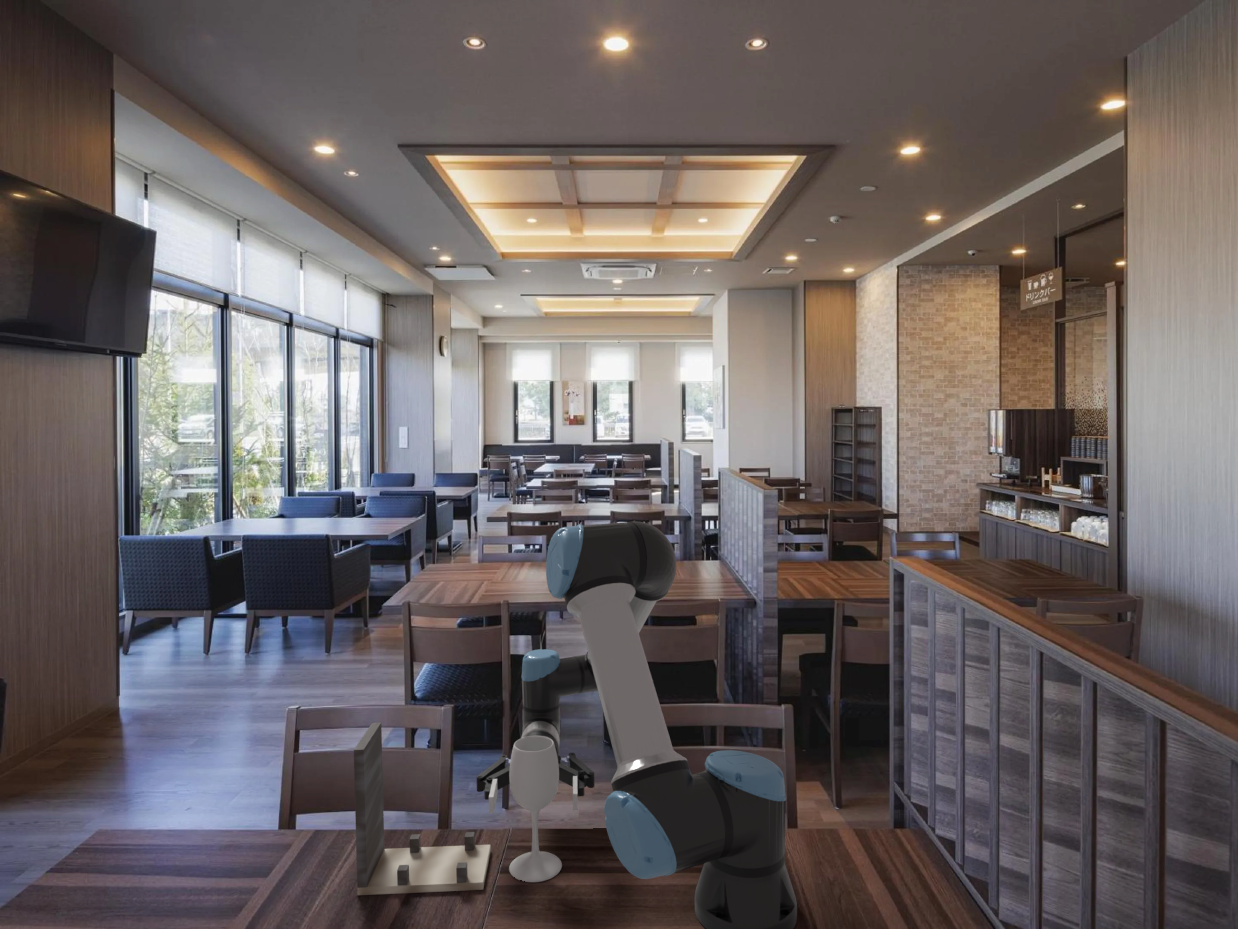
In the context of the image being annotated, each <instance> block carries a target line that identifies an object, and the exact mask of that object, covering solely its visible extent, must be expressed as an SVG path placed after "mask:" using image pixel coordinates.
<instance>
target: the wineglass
mask: <svg viewBox="0 0 1238 929" xmlns="http://www.w3.org/2000/svg"><path fill="white" fill-rule="evenodd" d="M512 746H513V747H512V751H511V757H510V759H511V761H510V771H509V779H510V784H509V788H510V792H511V796H512V798H513V799H514V801H515V802H516V803H517V805H519V806H520V807H521V808H523V809H525V810H527V811H529V813H530V816H531V817H530V818H531V826H532V827H531V830H532V832H531V833H532V834H531V835H532V838H531V851H529V852H525V853H523V854H521V855H519V856H517V857H515V859H512V861H511V863H509V864H510V865H509V867H508V871H509V873H510V875H511V876H512V877H513V878H514V877H515V878H514V879H516V880H518V881H520V880H522V881H521V882H524V881H525V883H540V882H545V881H547V880H550V879H553V878H554V877H556V876H557V875H558V874H559V873H560V871H561V870H562V867H563V864H562V861H561V859H560V858H559V857H558V856H557V855H555V854H554V853H550V852H548V851H540V847H539V846H540V843H539V816H540V811H541V810H543V809H544V808H546V807H547V806H549V804H551V802H552V801H554V799H555V797H556V796H557V793H558V789H559V786H560V785H559V784H560V780H559V765H558V758H557V753H556V749H555V745H554V742H553V740H552V739H550V738H548V737H545V736H528V737H524V738H521V737H520V738H519V739H517V740H516V741H515V742H514V743H513V745H512Z"/></svg>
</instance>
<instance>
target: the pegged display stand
mask: <svg viewBox="0 0 1238 929" xmlns="http://www.w3.org/2000/svg"><path fill="white" fill-rule="evenodd" d="M382 732H383V731H382V722H381V721H380V722H372V723H371V724H370V726H369V727H368V728H367V730H366V731H365V733H364V734H363V736H362V738H360V739H359V741H358V743H357V744H356V745H355V747H354V749H353V769H354V771H353V772H354V774H353V776H354V806H355V807H354V808H355V809H354V811H355V812H354V814H355V815H354V816H355V843H356V844H355V846H356V847H355V848H356V849H355V850H356V851H355V852H356V854H355V855H356V885H357V886H356V887H357V888H356V890H357V896H368V895H369V896H372V895H391V894H394V895H395V894H415V893H416V894H417V893H437V892H438V893H439V892H442V893H443V892H455V891H456V892H460V891H461V892H462V891H482V890H484V886H485V882H486V876H487V871H488V866H489V861H490V857H491V851H492V850H491V844H476V841H475V840H476V838H475V837H476V836H475V835H476V834H475V831H466V832H465V834H464V845H445V846H444V845H443V846H422V847H421V833H419V834H418V833H417V834H414V833H413V834H411V835H410V837H409V847H399V848H398V847H397V848H395V847H394V848H385V828H384V827H385V822H384V817H385V816H384V814H385V813H384V792H383V791H384V787H383V786H384V783H383V782H384V781H383V780H384V778H383V774H384V773H383V745H382V744H383V741H382V739H383V737H382Z"/></svg>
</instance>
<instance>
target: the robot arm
mask: <svg viewBox="0 0 1238 929" xmlns="http://www.w3.org/2000/svg"><path fill="white" fill-rule="evenodd" d="M676 572H677V559H676V552H675V550H674V548H673V544H672V543H671V541H670V540H669V538H668V537H667V536H666V535H665V534H664V533H663V531H661V530H660V529H659V528H657V527H656V526H654V525H651V524H650V523H648V522H643V521H634V520H633V521H626V522H625V521H624V522H614V523H613V522H611V523H598V524H596V523H595V524H582V523H581V524H580V523H578V524H577V525H573V526H572V525H570V526H563V527H560V528H559V529H557V530H556V531H555V532H554V533H553V534H552V536H551V538H550V541H549V543H548V549H547V552H546V563H545V574H546V575H545V577H546V584H547V589H548V591H549V593H550V594H551V597H553V598H556V599H558V600H562V599H564V601H565V607H566V610H567V612H568V613H569V614H570V615H572V616H574V617H576V618H578V619H579V624H580V627H581V631H582V635H583V638H584V642H585V646H586V650H587V652H586V654H581V655H576V656H569V657H561V658H560V654H559V653H558V652H557V651H556V650H553V649H548V648H546V649H542V648H540V649H534V650H533V649H532V650H530V651H528V652H526V653H525V654H524V656H523V657H522V664H521V665H522V666H521V684H522V685H521V688H522V689H521V690H522V691H521V692H522V732H521V737H520V739H521V738H524V737H528V736H545V737H548V738H550V739H552V740H553V742H554V745H555V749H556V753H557V758H558V765H559V782H562V783H564V784H567V785H568V786H569V787H570V786H571V787H572V811H578V810H579V808H578V804H579V803H578V799H579V798H578V797H584V796H585V788H586V787H587V788H588V789H593V788H595V772H594V771H593V770H592V769H591V768H589V767H588V766H587V765H586V764H585V763H583V761H581V760H580V759H578V757H577V756H576V753H575V752H569V753H568V755H567V756H566V757H561V756H560V733H561V725H562V722H561V721H562V720H561V710H560V708H561V707H560V706H561V697H568V696H572V695H579V694H584V693H590V692H596V691H597V692H598V697H599V700H600V704H601V708H602V712H603V716H604V719H605V723H606V727H607V731H608V735H609V739H610V743H611V746H612V750H613V754H614V758H615V761H616V766H617V768H616V772H615V774H614V775H613V777H612V779H611V782H610V785H611V788H612V791H613V792H611V793H610V794H609V795H608V796H607V797H606V799H605V802H604V807H603V808H604V810H603V811H604V812H603V813H604V815H605V818H604V822H605V827H606V831H607V836H608V838H609V841H610V844H611V846H612V849H613V851H614V852H615V855H616V856H617V858H618V860H619V861H620V863H621V864H622V866H623V867H624V868H625V869H626V870H627V871H628V873H630V874H631V875H632V876H634V877H636V878H638V879H641V880H650V879H653V878H658V877H659V878H660V877H668V876H670V875H673V874H675V873H677V872H680V871H684V870H687V869H690V868H694V867H696V866H700V865H702V864H703V865H702V869H701V872H700V875H699V879H698V881H697V885H696V887H695V892H694V913H695V916H696V918H697V920H698V922H700V924H701V925H702V926H703V927H704V928H705V929H794V928H795V926H796V924H797V920H798V905H797V904H798V902H797V897H796V894H795V891H794V889H793V885H792V881H791V878H790V876H789V872H788V869H787V866H786V861H785V860H786V851H785V850H786V848H785V847H786V800H787V795H786V786H785V785H786V784H785V776H784V773H783V771H782V769H781V768H780V767H779V766H778V765H777V764H776V763H775V762H773V761H772V760H770V759H768V758H767V757H765V756H761V755H759V754H756V753H751V752H747V751H741V750H731V749H729V750H728V749H727V750H726V749H725V750H716V751H714V752H711V753H710V754H709V755H708V756H707V757H706V759H705V762H704V767H705V770H704V771H700V772H697V773H692V772H691V769H690V765H689V762H688V759H687V758H686V757H684V756H683V755H681V754H680V753H678V752H676V751H675V750H674V747H673V745H672V741H671V738H670V734H669V731H668V727H667V724H666V721H665V718H664V713H663V711H662V708H661V704H660V701H659V697H658V694H657V691H656V687H655V684H654V680H653V677H652V673H651V671H650V668H649V667H650V666H649V664H648V659H647V656H646V654H645V650H644V646H643V644H642V640H641V637H640V632H641V630H642V628H643V627H644V625H645V623H646V621H647V619H648V617H649V616H650V614H651V612H652V610H653V608H654V607H655V605H656V603H657V602H658V601H660V600H662V599H664V598H665V597H666V596H667V594H668V593H669V591H670V589H671V587H672V586H673V583H674V581H675V578H676ZM510 761H511V758H509V757H508V755H507V754H501V755H499V758H498V760H497V761H495V762H494V763H492V764H490V766H489V767H487V768H486V769H484V770H483V771H481V772H480V773H479V774H478V775H477V776H476V791H477V792H478V793H480V792H481V793H482V792H484V796H483V797H484V800H485V801H486V800H488V814H490V815H491V814H494V813H495V809H496V805H497V799H498V795H499V792H498V791H499V790H501V789H502V788H503V789H504V787H506V786H508V785H510V779H509V771H510Z"/></svg>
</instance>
